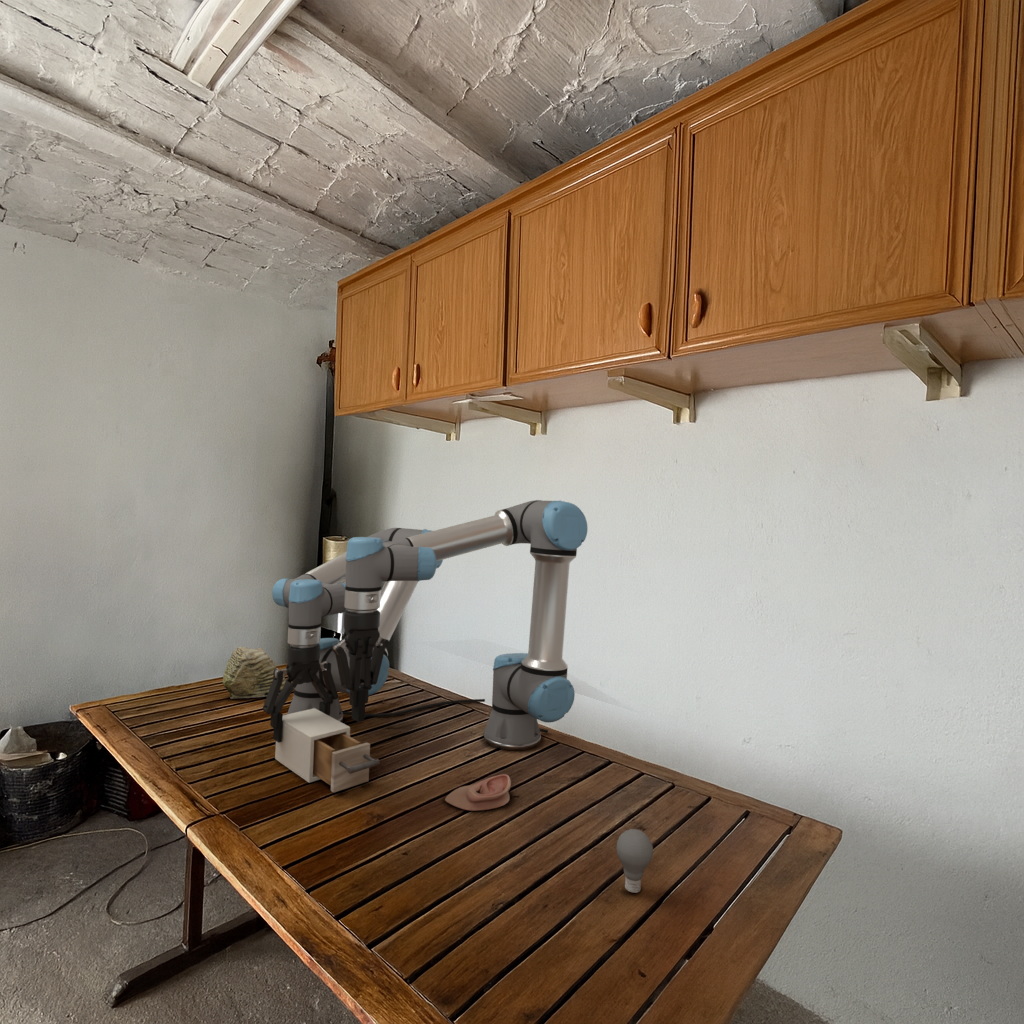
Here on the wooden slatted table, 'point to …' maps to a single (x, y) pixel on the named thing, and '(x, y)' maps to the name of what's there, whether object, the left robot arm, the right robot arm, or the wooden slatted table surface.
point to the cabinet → (305, 739)
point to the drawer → (342, 761)
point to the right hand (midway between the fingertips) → (358, 719)
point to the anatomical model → (482, 794)
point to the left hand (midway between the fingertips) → (300, 734)
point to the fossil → (249, 673)
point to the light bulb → (634, 857)
